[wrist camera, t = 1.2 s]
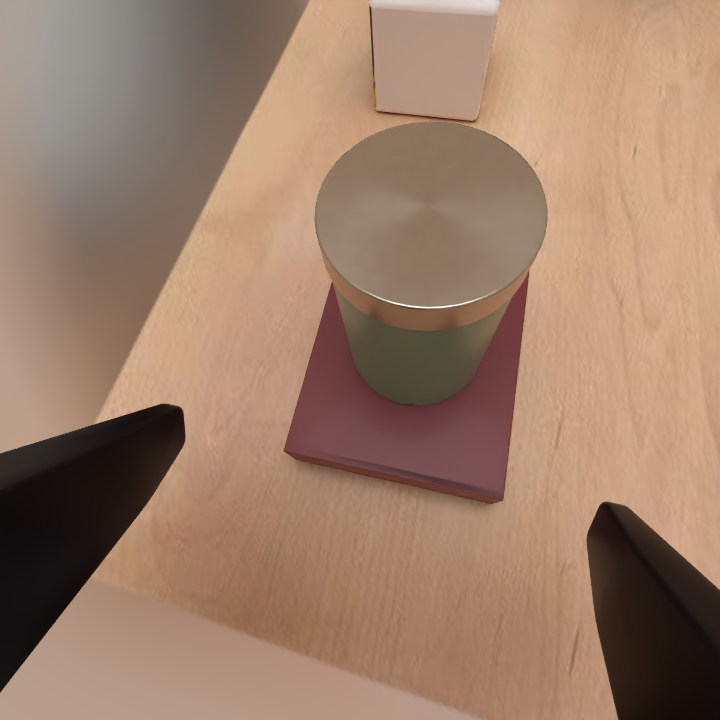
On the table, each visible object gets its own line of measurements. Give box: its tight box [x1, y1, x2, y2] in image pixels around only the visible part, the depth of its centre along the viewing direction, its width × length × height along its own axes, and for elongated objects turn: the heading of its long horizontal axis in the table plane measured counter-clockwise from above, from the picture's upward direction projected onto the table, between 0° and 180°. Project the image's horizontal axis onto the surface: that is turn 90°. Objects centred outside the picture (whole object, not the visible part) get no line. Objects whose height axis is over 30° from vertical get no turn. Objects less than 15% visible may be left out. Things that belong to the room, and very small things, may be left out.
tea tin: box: [315, 122, 547, 406], centre depth 17 cm, size 7×7×10 cm
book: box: [284, 272, 529, 504], centre depth 23 cm, size 13×10×2 cm
